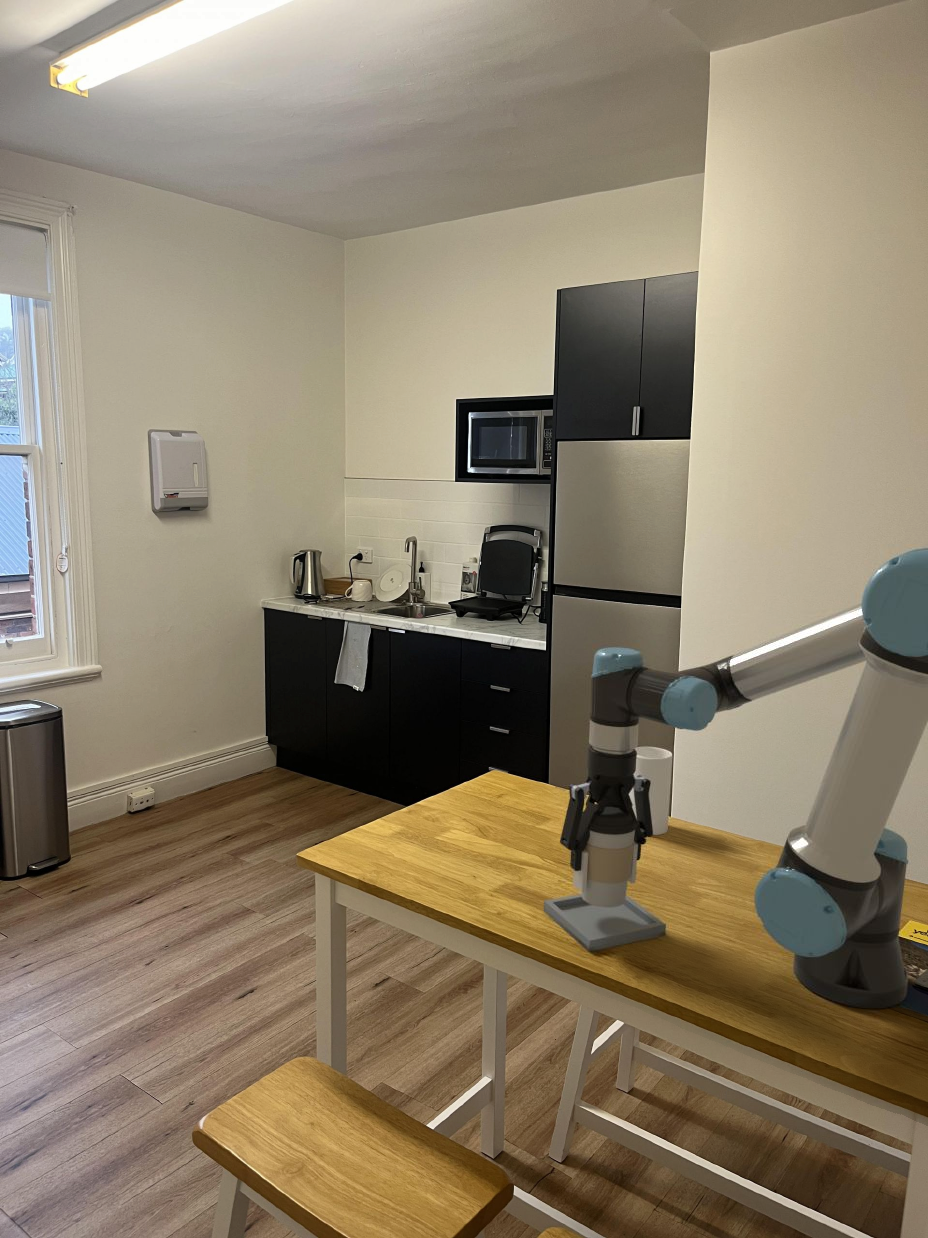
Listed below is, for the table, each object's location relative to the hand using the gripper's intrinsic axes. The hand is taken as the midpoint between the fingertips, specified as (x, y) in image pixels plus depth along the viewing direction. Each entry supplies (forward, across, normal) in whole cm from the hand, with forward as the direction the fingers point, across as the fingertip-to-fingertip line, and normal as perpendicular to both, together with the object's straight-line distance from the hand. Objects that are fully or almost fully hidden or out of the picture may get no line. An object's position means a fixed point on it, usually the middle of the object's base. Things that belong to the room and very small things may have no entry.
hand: (604, 883), depth 145 cm
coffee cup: (+3, 0, 0) cm, 3 cm away
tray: (+7, 0, 0) cm, 7 cm away
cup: (+7, -31, -31) cm, 45 cm away
